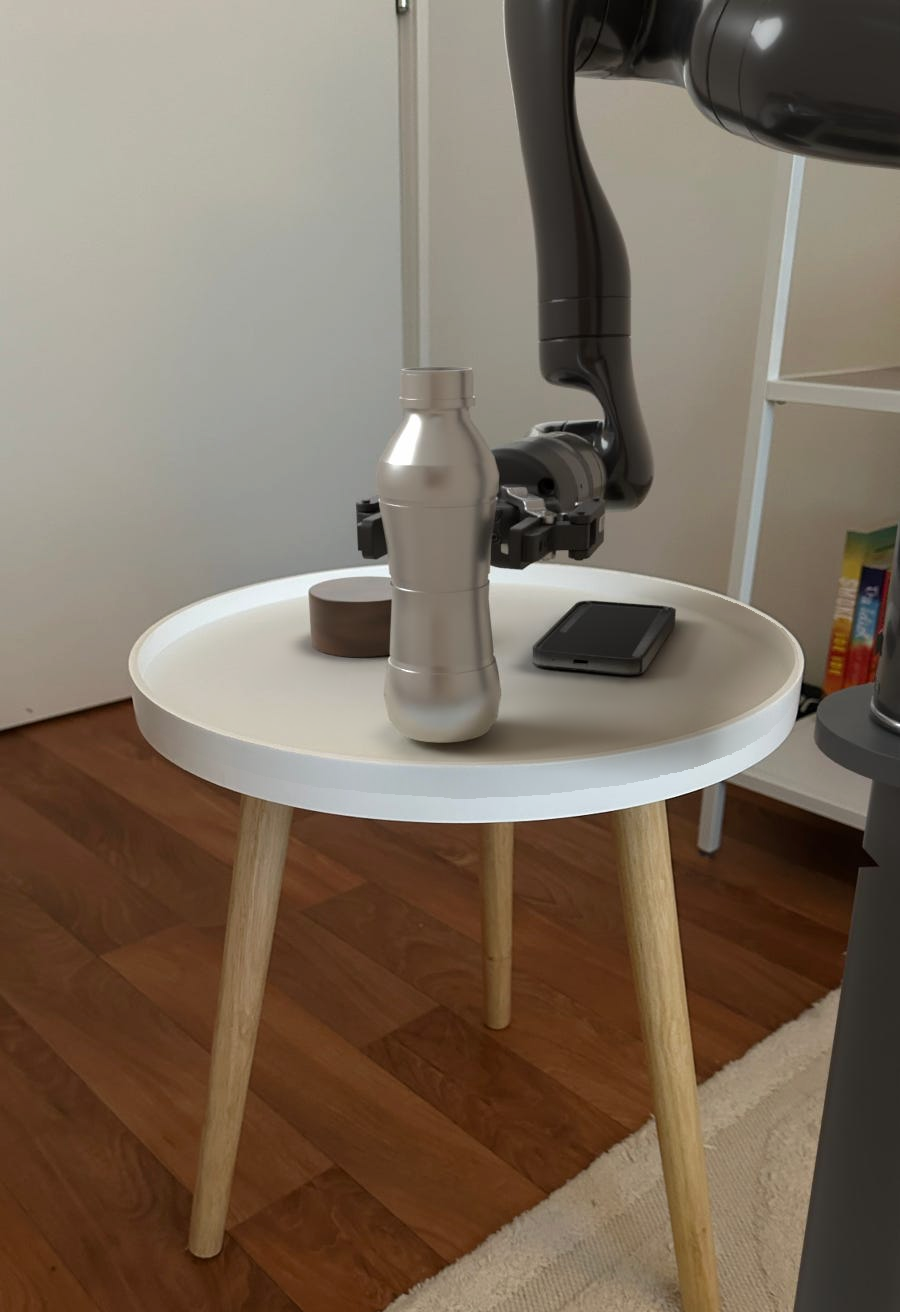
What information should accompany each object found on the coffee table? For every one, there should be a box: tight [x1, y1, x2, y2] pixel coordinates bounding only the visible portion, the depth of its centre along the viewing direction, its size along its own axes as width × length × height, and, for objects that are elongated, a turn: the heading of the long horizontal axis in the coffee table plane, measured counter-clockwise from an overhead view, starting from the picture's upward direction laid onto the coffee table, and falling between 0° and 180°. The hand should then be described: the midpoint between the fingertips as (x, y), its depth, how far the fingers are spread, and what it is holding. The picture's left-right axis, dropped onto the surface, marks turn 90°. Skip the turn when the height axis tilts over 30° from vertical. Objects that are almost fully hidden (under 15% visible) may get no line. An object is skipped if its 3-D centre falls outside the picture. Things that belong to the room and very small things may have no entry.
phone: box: [531, 600, 677, 676], centre depth 84 cm, size 8×1×15 cm
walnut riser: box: [308, 575, 392, 658], centre depth 85 cm, size 8×8×4 cm
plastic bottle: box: [374, 366, 502, 743], centre depth 63 cm, size 6×7×20 cm
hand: (439, 545), depth 63 cm, fingers open, 8 cm apart
